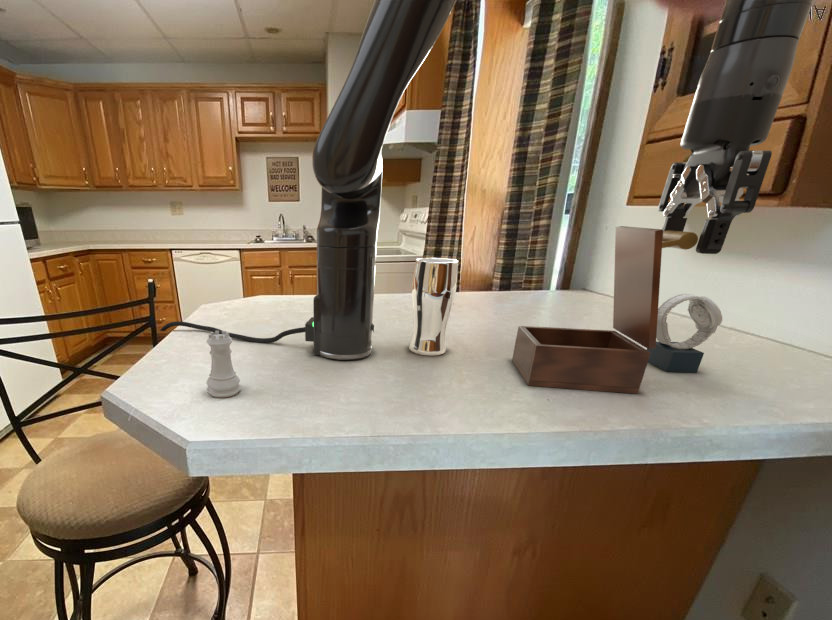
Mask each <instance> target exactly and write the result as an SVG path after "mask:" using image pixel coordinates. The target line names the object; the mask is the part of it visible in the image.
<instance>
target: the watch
mask: <svg viewBox="0 0 832 620" xmlns="http://www.w3.org/2000/svg"><path fill="white" fill-rule="evenodd" d="M687 301H689V303H688V305H687V312H688V314H689V316H690V319H691V320H692V321H693V322H694V325H695V330H696V332H695V333H694V334H693V335H692V336H691V337H688V338H687V339H686V340H683V341H680V342H679V341H672V339H671V336H670V333H669V328H668V327H669V326H668V325H669V324H668V322H667V320H668V315H669V313H670V312H671V311H672V310H673V309H675V307H677V306H678V305H680V304H682V303H684V302H687ZM722 322H723V313H722V311H721V309H720V308H719V306H718V304H717V303H716V302H715V301H713V299H711V298H709V297H707V296H698V295H695V294H690V293H681V294H677V295H674V296H672V297H670V298H668V299H667V300H665V301H664V302H662V304H661V305H660V306H658V319H657V335H656V348H655V349H647V348H646V350H648V351H649V352H651V354H650V357H649V360H648V363H649V364H651V365H653V366H655V367H656V368H658V369H661V370H663V371H664V372H666V373H667V372H668V373H690V374H691V373H692V374H694V373H695V374H696V373H698V371H699V368H700V365H701V363H702V361H703V358H704V354H705V352H703V351H700V350H698V349H696V347H698V346H701V345H702V344H703V343H705V342H706V341H707V340H709V338H710V337H711V336H712V335H713V334H716V331H717V329H718V326H720V325H721V324H722Z"/></svg>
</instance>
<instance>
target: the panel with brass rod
mask: <svg viewBox="0 0 832 620" xmlns="http://www.w3.org/2000/svg"><path fill="white" fill-rule="evenodd" d="M614 236H615V240H614V248H615V249H614V276H613V277H614V280H613V281H614V282H613V283H614V284H613V316H612V317H613V319H612V328H613V330H615V331H616V332H618V333H620V334H621V335H623V336H625V337H626V338H628V339H630V340H631V341H633V342H635V343H636V344H638V345H640V346H641V347H643V348H645V349H646V350H647V349H655V348H656V341H657V338H656V335H657V319H658V311H659V310H658V308H659V302H660V301H659V300H660V286H661V269H662V268H661V267H662V253H663V249H666V248H672V249H679V250H686V251H687V250H690V249H692V248H694V247H695V246H697V244H698V241H699V236H698V234H697V233H695V232H693V231H684V230H683V231H672V230H667V231H664V232H663V229H660V228H650V227H640V226H639V227H637V226H627V225H620V226H615V235H614Z"/></svg>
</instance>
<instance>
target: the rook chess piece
mask: <svg viewBox="0 0 832 620" xmlns="http://www.w3.org/2000/svg"><path fill="white" fill-rule="evenodd" d="M229 333H230V332H229V331H227V330H222V334H219V331H215V332H211V331H209V333H208V338H207V339H206V343H207V345H208V346H209V347H210V351H209V352H208V354H209V355H210V358H211V366H210V367H211V368H210V373H209V375H208V376H209V377H208V378H207V380H206V386H207V388H206V391H207V393H208V394H209V395H210V396H212V397H214V398H231V397H234V396H236V395H237V394H238V393H239V392H240V390H241V388H242V385H240V382H241V379H240V377H239V376H238V375H237V372H236V371H235V369H234V366H233V362H232V358H231V357H232V356H231V355H232V350H231V347H230V346H231V344H232V342H233V341H234V339H233V338H231V337H230V336H229Z"/></svg>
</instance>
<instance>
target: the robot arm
mask: <svg viewBox="0 0 832 620" xmlns="http://www.w3.org/2000/svg"><path fill="white" fill-rule="evenodd" d="M456 3H457V0H373V4H372V6H371V9H370V12H369V14H368V17H367V20H366V23H365V25H364V28H363V31H362V35H361V36H360V37H361V38H360V40H359V44H358V47H357V50H356V53H355V56H354V59H353V62H352V65H351V67H350V70H349V73H348V75H347V77H346V79H345V81H344V83H343V86H342V88H341V89H340V91H339V93H338V95H337V98H336V100H335V102H334V104H333V106H332V108H331V109H330V112H329V114H328V116H327V118H326V120H325V122H324V124H323V126H322V128H321V130H320V132H319V134H318V136H317V139H316V141H315V142H314V143H315V144H314V146H313V152H312V158H311V159H312V170H313V174H314V177H315V179H316V181H317V184H319V186H320V187H321V201H320V203H321V206H320V207H321V208H320V215H319V221H318V224H317V227H316V295H314V297H313V301H312V302H313V305H312V307H313V310H312V311H313V317H312V316H311V317H310V318H309V319H308V320H307V321H306V323H305V324H304V327H295V328H291V329H287V330H284V331H282V332H280V333H278V334H277V335H275V336H273V337H254V336H247V335H243V334H238V333H234V332H233V333H232V332H229V336H230V337H231V338H232V339H235V340H240V341H245V342H250V343H259V344H270V343H275V342H278V341H280V340H281V339H282V338H284V337H286V336H290V335H294V334H302V333H304V339H305V340H304V342H311V343H313V355H314V356H319V357H320V356H321V357H324V358H327V359H329V360H331V359H332V360H340V361H351V360H352V361H353V360H359V359H364V358H366V357H368V356H370V355H371V354H372V348H373V347H372V342H373V340H372V338H373V337H372V335H373V333H374V332H375V324H374V323H373V317H374V301H375V300H374V299H375V298H374V297H375V283H376V282H375V281H376V265H377V263H376V261H377V244H378V243H377V242H378V231H379V225H380V217H381V216H380V215H381V200H382V185H383V168H384V167H383V166H384V165H383V154H382V149H383V146H384V142H385V139H386V137H387V133H388V131H389V129H390V125H391V122H392V120H393V117H394V115H395V112H396V110H397V108H398V106H399V103H400V101H401V99H402V97H403V95H404V93H405V90H406V89H407V88H408V86H409V84H410V82H411V81H412V79H413V78H414V76H415V75H416V73H417V72H418V71H419V69H420V67H421V66H422V64H423V63H424V61H425V60H426V58H427V57H428V55H429V53H430V52H431V50H432V49H433V47H434V45H435V44H436V42H437V41H438V38H439V37H440V35H441V34H442V31H443V29H444V28H445V26H446V24H447V22H448V20H449V18H450V16H451V13H452V11H453V9H454V7H455V6H456ZM813 3H814V0H725V2H724V8H723V10H722V13H721V15H720V19H719V22H718V25H717V28H716V32H715V35H714V38H713V42H712V45H711V49H710V52H709V55H708V57H707V60H706V63H705V65H704V68H703V69H702V72H701V74H700V77H699V80H698V83H697V86H696V90H695V93H694V96H693V98H692V99H693V100H692V103H691V105H690V110H689V113H688V116H687V120H686V123H685V126H684V130H683V134H682V136H681V139H680V143H679V145H680V147H681V148H682V149H683V150H690V151H691V154H690V155H689V158H688V159H687V161H684V162H683V161H682V162H681V161H679V162H678V161H675V162H673V163H672V164H671V166H670V169H669V171H668V175H667V178H666V181H665V184H664V187H663V191H662V192H661V193H662V194H661V196H660V200H659V203H658V206H657V211H658V212H659V213H661V212H662V214H663V215H662V216H663V218H664V222H663V225H662V229H663V232H664V231H667V230H672V231H684V230H685V228H686V224H687V220H688V216H689V215H690V213H691V212H692V211H693V209H694V208H695V207H696V205H698V204H701V203H705V205H706V211H707V218H708V219H705V220H704V224H703V226H702V230H701V232H700V235H699V237H698V242H697V243H696V247H695V252H696V253H697V254H702V255H716V254H719V253H720V252H721V251H722V248H723V246H724V244H725V241H726V239H727V235H728V232H729V229H730V227H731V225H732V222H733V220H734V219H737V218H738V217H739V216H740V215H742V214H749V213H751V212H752V211H753V210H754V208H755V207H756V203H757V200H758V197H759V194H760V192H761V188H762V185H763V183H764V180H765V176H766V173H767V170H768V167H769V165H770V161H771V158H772V156H773V155H772V154H773V151H771V150H762V149H757V150H756V149H755V150H750V147H754V146H758V145H760V144H763V143H764V142H766V140H767V138H768V136H769V134H770V131H771V128H772V126H773V123H774V120H775V118H776V114H777V112H778V109H779V106H780V103H781V101H782V98H783V95H784V92H785V90H786V87H787V85H788V82H789V79H790V76H791V73H792V70H793V67H794V64H795V63H794V62H795V59H796V53H797V49H798V45H799V42H800V39H801V37H802V34H803V31H804V28H805V25H806V23H807V20H808V17H809V14H810V12H811V8H812V6H813ZM744 189H746V192H745V191H744ZM743 195H744V197H743V200H740V198H741V197H742V196H743ZM172 327H185V328H190V329H195V330H200V331H206V332H213V333H215V331H219V334H222V331H223V329H220V328H217V327H214V326H208V325H203V324H202V325H201V324H197V323H192V322H188V321H179V320H177V321H170V322H168V323H166V324H165V325H163V326H162V327H161V328H160V329H159V331H160V332H166V330H168V329H170V328H172Z"/></svg>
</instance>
